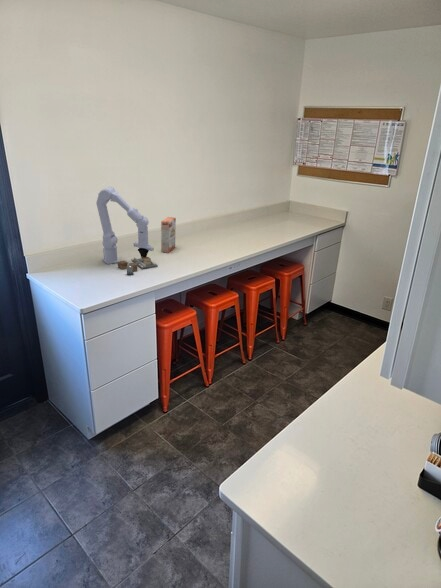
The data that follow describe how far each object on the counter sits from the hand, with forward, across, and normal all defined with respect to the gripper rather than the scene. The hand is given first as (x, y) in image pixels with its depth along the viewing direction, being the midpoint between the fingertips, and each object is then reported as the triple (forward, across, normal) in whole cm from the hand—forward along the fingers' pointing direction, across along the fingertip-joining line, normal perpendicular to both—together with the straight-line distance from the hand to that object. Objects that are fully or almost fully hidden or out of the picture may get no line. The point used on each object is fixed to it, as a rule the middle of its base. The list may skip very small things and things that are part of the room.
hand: (143, 259), depth 241 cm
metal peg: (+2, +6, -18) cm, 19 cm away
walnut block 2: (+2, +3, -12) cm, 13 cm away
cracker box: (+3, -7, +31) cm, 32 cm away
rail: (+2, +1, 0) cm, 2 cm away
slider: (+1, +3, -1) cm, 4 cm away
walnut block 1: (+2, -4, -14) cm, 14 cm away
